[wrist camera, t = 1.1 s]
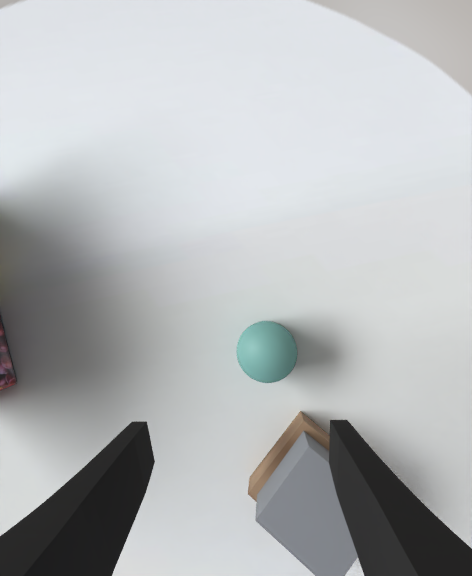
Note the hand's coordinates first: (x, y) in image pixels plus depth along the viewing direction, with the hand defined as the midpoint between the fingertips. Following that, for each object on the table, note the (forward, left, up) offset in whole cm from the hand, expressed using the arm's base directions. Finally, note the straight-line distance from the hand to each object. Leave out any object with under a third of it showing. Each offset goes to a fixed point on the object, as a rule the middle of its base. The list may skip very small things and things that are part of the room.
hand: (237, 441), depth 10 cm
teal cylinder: (+3, +1, -13) cm, 13 cm away
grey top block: (-3, -8, -11) cm, 14 cm away
